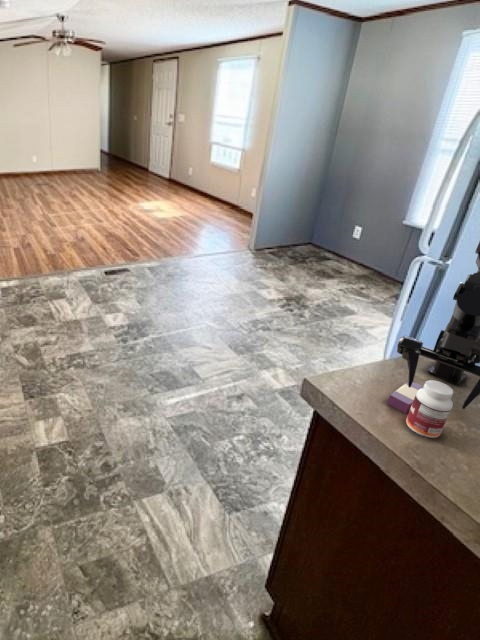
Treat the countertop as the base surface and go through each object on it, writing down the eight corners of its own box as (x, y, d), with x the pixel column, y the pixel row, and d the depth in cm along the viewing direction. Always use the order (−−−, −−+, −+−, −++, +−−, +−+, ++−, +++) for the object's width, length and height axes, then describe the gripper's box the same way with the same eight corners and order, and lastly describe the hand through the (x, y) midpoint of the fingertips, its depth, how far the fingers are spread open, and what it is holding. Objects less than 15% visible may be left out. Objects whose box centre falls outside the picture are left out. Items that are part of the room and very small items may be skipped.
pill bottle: (410, 413, 95) (426, 373, 91) (443, 429, 91) (462, 388, 86) (400, 426, 91) (416, 385, 87) (435, 443, 87) (453, 401, 83)
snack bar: (406, 388, 103) (409, 380, 102) (425, 397, 100) (428, 389, 99) (386, 403, 98) (390, 394, 97) (406, 413, 95) (409, 404, 94)
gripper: (413, 302, 91) (384, 365, 88) (532, 337, 79) (502, 411, 76) (410, 322, 99) (384, 380, 96) (518, 356, 87) (490, 424, 84)
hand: (435, 397), depth 88 cm, fingers open, 9 cm apart
